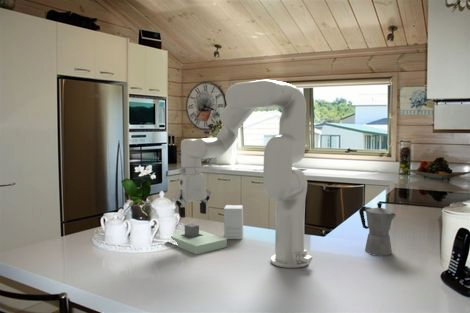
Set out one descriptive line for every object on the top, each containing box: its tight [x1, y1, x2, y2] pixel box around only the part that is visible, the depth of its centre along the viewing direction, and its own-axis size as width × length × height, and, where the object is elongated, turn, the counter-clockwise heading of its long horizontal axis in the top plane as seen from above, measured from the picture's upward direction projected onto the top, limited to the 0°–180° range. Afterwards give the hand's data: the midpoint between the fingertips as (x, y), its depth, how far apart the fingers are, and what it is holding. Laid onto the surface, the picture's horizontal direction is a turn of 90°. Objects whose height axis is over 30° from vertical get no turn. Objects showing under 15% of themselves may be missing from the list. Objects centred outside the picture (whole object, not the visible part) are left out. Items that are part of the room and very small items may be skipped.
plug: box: [184, 223, 200, 238], centre depth 160 cm, size 4×4×7 cm
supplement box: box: [223, 204, 244, 240], centre depth 169 cm, size 7×7×13 cm
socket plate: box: [171, 229, 228, 255], centre depth 158 cm, size 20×14×3 cm
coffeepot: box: [358, 202, 397, 256], centre depth 149 cm, size 15×9×18 cm, turn 33°
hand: (192, 215), depth 159 cm, fingers open, 9 cm apart
